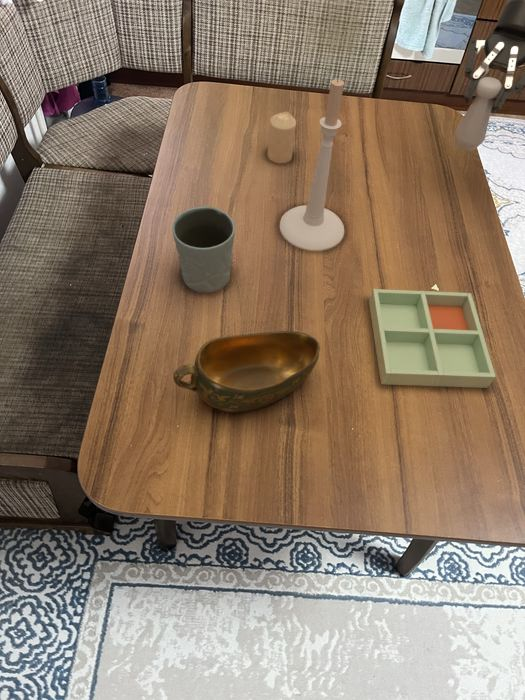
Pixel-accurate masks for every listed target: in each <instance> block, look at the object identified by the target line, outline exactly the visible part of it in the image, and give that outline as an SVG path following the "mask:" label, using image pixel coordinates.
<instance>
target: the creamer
mask: <svg viewBox="0 0 525 700" xmlns="http://www.w3.org/2000/svg"><path fill="white" fill-rule="evenodd" d="M320 352H321V345H320V342H319V341H318V340H317V338H315V337H314V336H312V335H311V334H308V333H304V332H300V331H295V330H279V331H278V330H276V331H275V330H274V331H265V332H255V333H244V334H235V335H233V334H232V335H224V336H220V337H215V338H213V339H212V338H211V339H210V340H208V341H206V342H205V343H203V345H201V347H200V348H199V349H198V351H197V353H196V357H195V360H194V363H193V364H194V365H193V364H184V365H181V366H179V367H177V368H176V369H175V371H174V372H173V382H174V384H175V385H177V386H178V387H179V388H182V389H185V390H190V391H192V392H194V393H196V394H197V395H198V396H199V397H200V398H201V399H202V400H203V401H204V402H205V403H206V404H207V405H209V406H211V407H212V408H214V409H216V410H219V411H222V412H224V413H229V414H245V413H250V412H254V411H259V410H262V409H263V408H267V407H269V406H271V405H273V404H275V403H277V402H279V401H280V400H282V399H284V398H286V397H287V396H289V394H291V393H293V392H294V391H295V390H297V388H299V387H300V386H301V385H302V384H303V383H304V382H305V381H307V379H308V378H309V376H310V375H311V374H312V372H313V370H314V368H315V366H316V364H317V363H318V361H319V357H320ZM187 375H190V380H189V381H184V380H183V378H184V376H187Z"/></svg>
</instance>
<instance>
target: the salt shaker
mask: <svg viewBox="0 0 525 700" xmlns="http://www.w3.org/2000/svg"><path fill="white" fill-rule="evenodd" d="M502 85H503V84H502V82H501V81H500V80H499V79H497V78H495V77H492V76H491V77H490V76H483V77H482V78H481V80H479V82H478V84H477V86H476V90H475V93H476V95H475V97H474V99H473V101H472V102H471V103H470V104H469V107H468V108H467V110H466V112H465V114H464V115H463V117H462V118H461V119H460V121H459V123H458V125H457V127H456V128H455V131H454V145H455V146H456V147H457V149H458V150H460V151H464V152H472V151H474V150H476V149H478V147H479V146H481V145H482V144H483V143H484V141H485V139H486V136H487V131H488V126H489V122H490V118H491V113H492V112H491V110H492V107H493V105H494V101H495V100H494V99H497V97H498V95H499V93H500V91H501V88H503V87H502Z"/></svg>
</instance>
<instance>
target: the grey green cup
mask: <svg viewBox="0 0 525 700" xmlns="http://www.w3.org/2000/svg"><path fill="white" fill-rule="evenodd" d="M171 231H172V236H173V240H174V243H175V247H176V251H177V255H178V263H179V264H180V269H181V270H180V271H181V275H182V276H181V277H182V280H183V282H184V284H185V285H186V286H187V287H188V288H189V289H191V290H192V291H195V292H197V293H200V294H201V293H203V294H209V293H215V292H218V291H220V290H222V289H223V288H225V287H226V286H227V285H228V283H229V282H230V278H231V268H232V258H233V257H232V256H233V250H234V247H233V246H234V240H235V233H236V232H235V231H236V223H235V221H234V219H233V218H232V217H231V216H230V215H229V214H228V213H227V212H226V211H225V210H222V209H220V208H217V207H213V206H206V205H205V206H196V207H192V208H189V209H186V210H183V212H181V213H180V214H178V215H177V216H176V217H175V218H174V221H173V222H172V227H171Z"/></svg>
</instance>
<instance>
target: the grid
mask: <svg viewBox="0 0 525 700" xmlns="http://www.w3.org/2000/svg"><path fill="white" fill-rule="evenodd" d="M368 304H369V311H370V318H371V325H372V331H373V339H374V345H375V352H376V359H377V366H378V373H379V377H380V378H379V379H380V380H379V381H380V384H381V385H393V386H420V387H421V386H422V387H448V388H449V387H452V388H482V389H483V388H484V389H488V388H489V387H490V385H491V384H492V383H493V381H494V380H495V379H496V377H497V376H496V372H495V369H494V366H493V363H492V360H491V359H492V358H491V356H490V352H489V349H488V346H487V345H488V344H487V342H486V339H485V336H484V332H483V329H482V325H481V321H480V318H479V315H478V312H477V309H476V305H475V302H474V298H473V295H472V293H471V292H455V291H435V290H434V291H431V290H407V289H384V288H373V289H372V291H371V294H370V297H369V300H368Z"/></svg>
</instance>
